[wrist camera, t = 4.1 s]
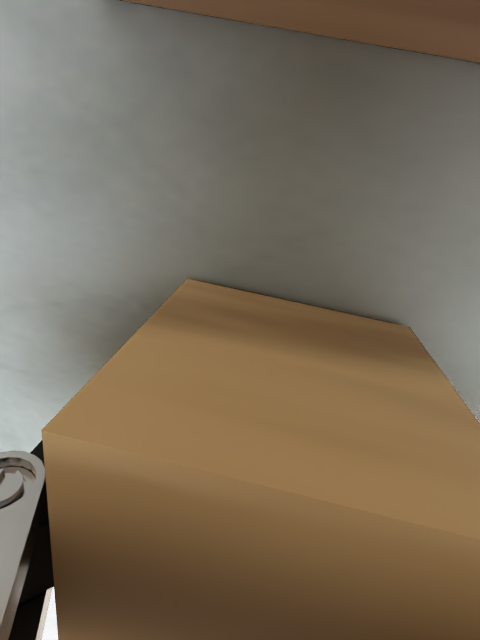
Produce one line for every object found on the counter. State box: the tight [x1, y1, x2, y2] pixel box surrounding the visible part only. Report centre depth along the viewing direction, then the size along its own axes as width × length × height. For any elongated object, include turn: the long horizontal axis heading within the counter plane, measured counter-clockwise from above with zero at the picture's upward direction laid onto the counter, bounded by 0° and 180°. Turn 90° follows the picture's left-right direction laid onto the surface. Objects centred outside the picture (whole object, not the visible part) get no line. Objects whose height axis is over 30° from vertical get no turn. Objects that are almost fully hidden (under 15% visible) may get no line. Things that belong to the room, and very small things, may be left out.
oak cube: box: [42, 279, 480, 640], centre depth 8 cm, size 6×6×6 cm
